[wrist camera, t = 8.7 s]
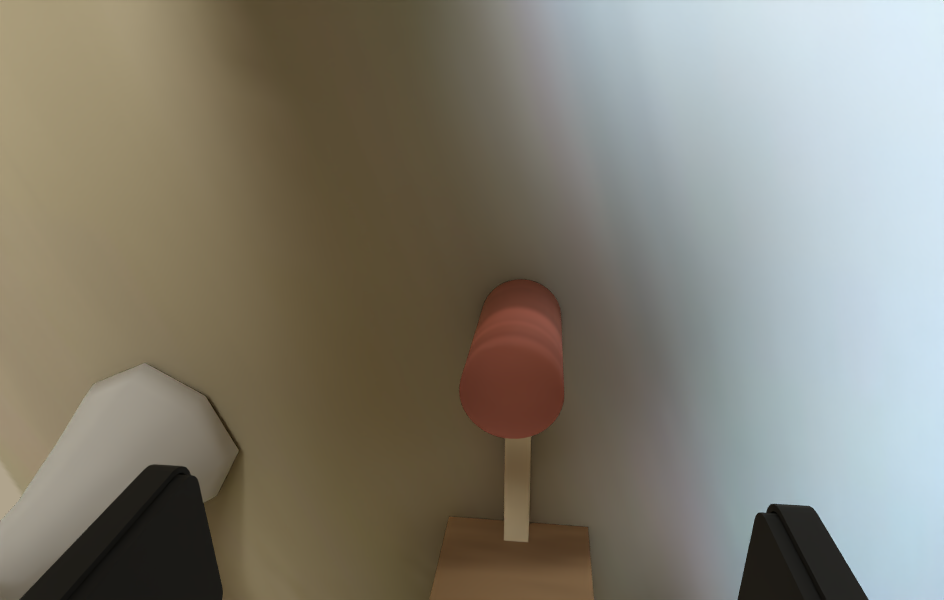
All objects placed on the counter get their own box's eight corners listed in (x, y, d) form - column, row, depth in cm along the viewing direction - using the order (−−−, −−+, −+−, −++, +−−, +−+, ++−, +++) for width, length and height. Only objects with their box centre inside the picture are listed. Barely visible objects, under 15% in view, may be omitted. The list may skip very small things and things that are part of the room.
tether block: (441, 277, 23) (405, 341, 17) (604, 281, 22) (622, 350, 16) (452, 620, 28) (427, 752, 23) (581, 633, 28) (588, 772, 22)
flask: (174, 529, 29) (-9, 744, 19) (54, 424, 27) (-202, 599, 18) (269, 450, 26) (115, 649, 17) (144, 332, 25) (-96, 477, 16)
